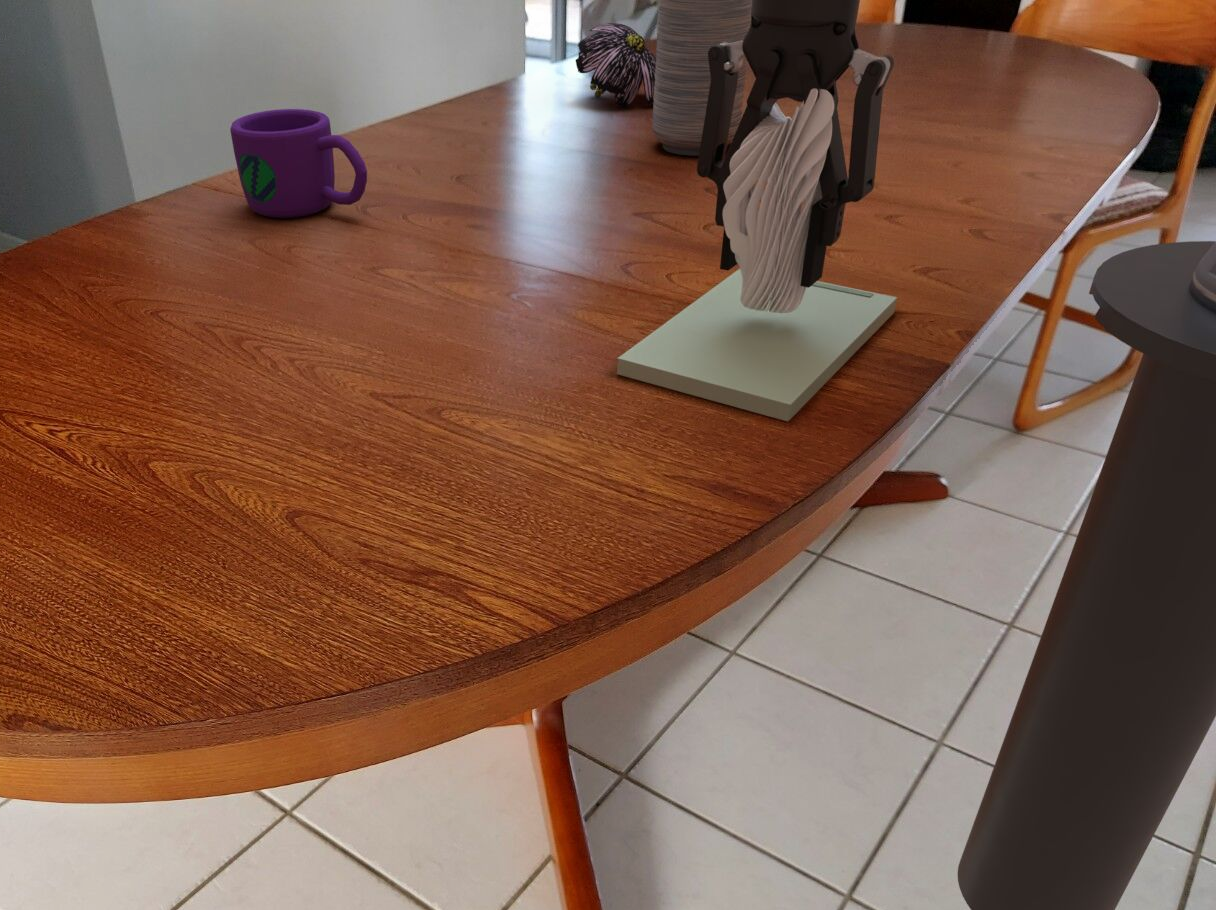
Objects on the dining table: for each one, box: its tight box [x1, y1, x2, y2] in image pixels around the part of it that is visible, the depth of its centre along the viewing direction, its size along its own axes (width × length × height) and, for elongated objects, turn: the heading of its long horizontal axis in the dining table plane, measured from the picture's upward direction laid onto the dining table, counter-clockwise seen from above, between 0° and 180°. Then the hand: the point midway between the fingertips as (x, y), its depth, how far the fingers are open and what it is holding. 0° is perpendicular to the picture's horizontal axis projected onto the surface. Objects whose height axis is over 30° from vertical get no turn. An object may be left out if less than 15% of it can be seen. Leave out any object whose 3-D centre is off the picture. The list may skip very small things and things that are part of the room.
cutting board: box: [616, 268, 898, 423], centre depth 90 cm, size 24×15×2 cm, turn 144°
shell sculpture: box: [723, 89, 834, 313], centre depth 83 cm, size 8×8×18 cm
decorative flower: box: [575, 22, 656, 110], centre depth 160 cm, size 14×12×15 cm
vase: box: [651, 0, 752, 157], centre depth 133 cm, size 12×12×23 cm
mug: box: [230, 108, 368, 219], centre depth 120 cm, size 17×11×10 cm, turn 60°
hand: (770, 272), depth 86 cm, fingers closed on shell sculpture, 6 cm apart
